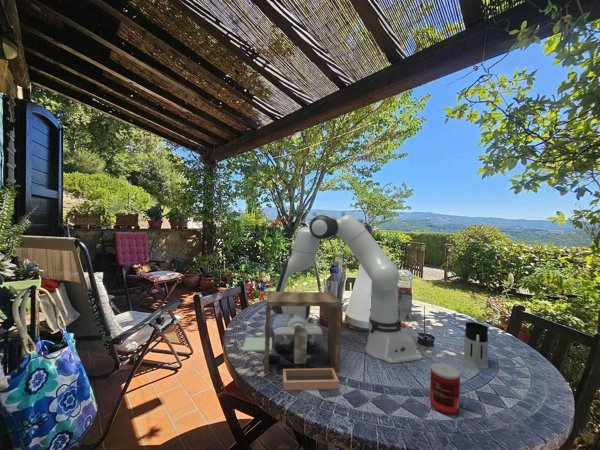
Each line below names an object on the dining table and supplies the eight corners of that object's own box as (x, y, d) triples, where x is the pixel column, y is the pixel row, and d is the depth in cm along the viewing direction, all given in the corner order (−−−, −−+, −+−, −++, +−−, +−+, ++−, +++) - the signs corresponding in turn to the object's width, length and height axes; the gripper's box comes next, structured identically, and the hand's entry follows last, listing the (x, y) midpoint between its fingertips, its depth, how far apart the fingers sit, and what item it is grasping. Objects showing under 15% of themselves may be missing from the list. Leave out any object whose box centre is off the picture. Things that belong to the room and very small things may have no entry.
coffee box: (397, 315, 161) (398, 289, 161) (408, 317, 160) (409, 290, 160) (399, 321, 152) (400, 293, 152) (411, 322, 151) (412, 294, 151)
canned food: (448, 397, 84) (449, 362, 84) (465, 415, 76) (466, 377, 76) (424, 397, 84) (425, 362, 84) (438, 415, 76) (440, 376, 76)
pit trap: (333, 375, 95) (333, 368, 95) (338, 388, 87) (338, 381, 87) (282, 376, 93) (282, 368, 93) (283, 390, 85) (283, 382, 85)
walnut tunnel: (331, 353, 110) (333, 292, 110) (339, 372, 96) (341, 302, 96) (265, 354, 108) (267, 291, 108) (264, 374, 94) (266, 301, 94)
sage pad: (272, 338, 123) (272, 337, 123) (271, 351, 111) (271, 349, 111) (245, 339, 122) (245, 337, 122) (242, 351, 110) (242, 350, 110)
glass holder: (487, 361, 108) (488, 324, 108) (491, 378, 96) (492, 336, 96) (462, 355, 113) (463, 320, 113) (463, 370, 101) (464, 330, 101)
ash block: (304, 357, 106) (305, 327, 107) (306, 363, 102) (307, 332, 102) (293, 357, 106) (294, 327, 106) (294, 363, 102) (295, 332, 102)
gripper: (274, 322, 118) (274, 335, 104) (319, 322, 120) (325, 334, 106) (273, 336, 118) (273, 351, 104) (319, 336, 120) (325, 350, 106)
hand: (300, 342), depth 105 cm, fingers open, 8 cm apart
